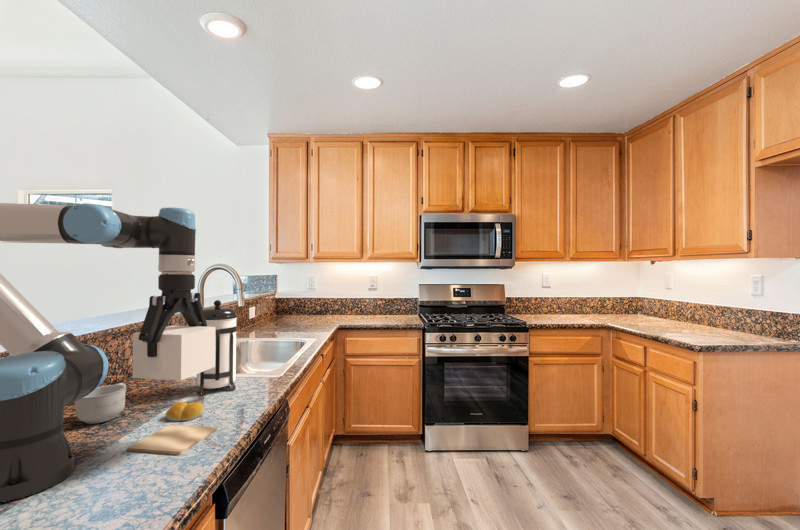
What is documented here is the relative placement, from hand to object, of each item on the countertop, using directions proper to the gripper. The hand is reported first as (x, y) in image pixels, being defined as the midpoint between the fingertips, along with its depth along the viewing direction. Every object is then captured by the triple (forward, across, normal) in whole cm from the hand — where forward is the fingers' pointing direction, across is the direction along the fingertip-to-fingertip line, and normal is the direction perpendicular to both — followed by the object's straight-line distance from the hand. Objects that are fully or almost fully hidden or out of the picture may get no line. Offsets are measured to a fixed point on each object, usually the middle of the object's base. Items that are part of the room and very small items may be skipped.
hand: (175, 364), depth 90 cm
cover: (+2, 0, 0) cm, 2 cm away
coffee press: (+18, +36, +14) cm, 43 cm away
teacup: (+18, +10, +28) cm, 35 cm away
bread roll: (+18, +14, +8) cm, 24 cm away
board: (+18, 0, 0) cm, 18 cm away
